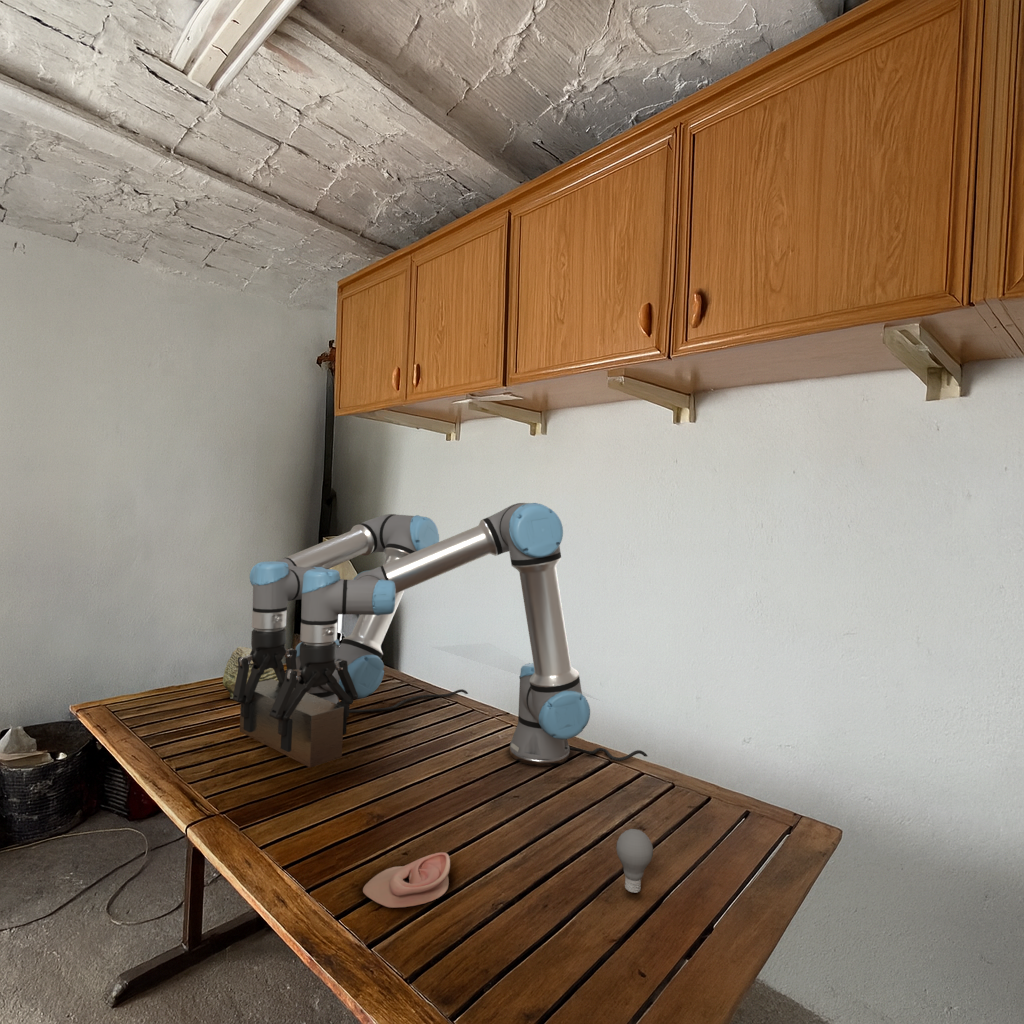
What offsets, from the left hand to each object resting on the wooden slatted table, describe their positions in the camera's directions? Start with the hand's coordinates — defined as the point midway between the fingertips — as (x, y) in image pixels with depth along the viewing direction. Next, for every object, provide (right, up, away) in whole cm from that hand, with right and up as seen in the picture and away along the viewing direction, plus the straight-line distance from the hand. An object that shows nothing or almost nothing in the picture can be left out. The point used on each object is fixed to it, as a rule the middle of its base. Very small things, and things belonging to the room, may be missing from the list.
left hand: (265, 725), depth 148 cm
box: (+8, -2, -6) cm, 10 cm away
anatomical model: (+40, -12, -44) cm, 61 cm away
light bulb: (+78, -14, -42) cm, 89 cm away
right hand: (+15, +1, -12) cm, 20 cm away
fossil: (-23, -7, +50) cm, 56 cm away
